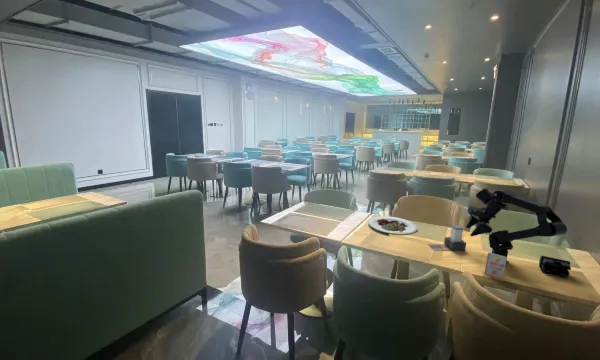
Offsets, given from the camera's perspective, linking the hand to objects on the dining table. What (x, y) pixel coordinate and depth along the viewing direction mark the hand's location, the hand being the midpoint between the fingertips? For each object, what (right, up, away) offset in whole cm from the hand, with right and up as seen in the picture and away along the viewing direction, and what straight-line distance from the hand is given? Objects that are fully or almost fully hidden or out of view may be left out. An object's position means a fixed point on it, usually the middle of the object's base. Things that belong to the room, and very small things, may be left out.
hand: (468, 231), depth 150 cm
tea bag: (-2, -16, -22) cm, 27 cm away
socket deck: (-11, -10, +2) cm, 15 cm away
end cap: (+28, -16, -19) cm, 37 cm away
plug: (-6, -9, +2) cm, 11 cm away
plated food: (-30, -3, +32) cm, 45 cm away
